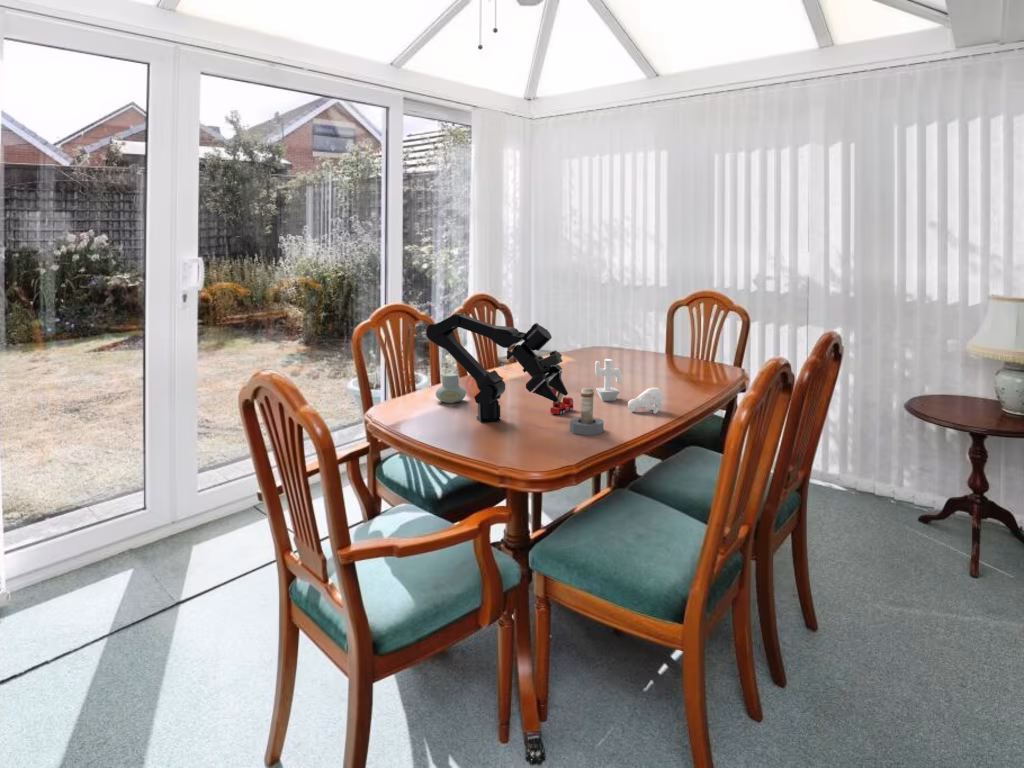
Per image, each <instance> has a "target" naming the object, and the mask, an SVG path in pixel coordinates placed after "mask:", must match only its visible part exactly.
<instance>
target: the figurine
mask: <svg viewBox="0 0 1024 768" xmlns="http://www.w3.org/2000/svg"><path fill="white" fill-rule="evenodd" d="M603 362H604V367H603V368H601V362H600V360H596V361H595V363H594V373H595V376H597V377H603V379H604V381H603V383H604V384H603V387H595V389H596V390H595V391H596V392H597V394H598V397H599V399H600V400H601V401H602V402H615V400H616V398H617V397H618V395H619V394H620V390H618V389H617V388H616V387H614V386H613V387H612V377H614V376H615V382H616V383H618V384H619V383H621V382H622V381H621V379H622V377H621V374H622V372H621V369H620V368H619V367H614V368H613V367H612V366H613V359H611V358H604V361H603Z"/></svg>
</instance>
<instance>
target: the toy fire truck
mask: <svg viewBox="0 0 1024 768" xmlns="http://www.w3.org/2000/svg"><path fill="white" fill-rule="evenodd" d="M550 388H551V389H552V390H553V392H554V393H555V395H556V396H557V398H558V399H559V400H558V401H557V402H554V401H552V406H551V407H550V410H549V411H550V414H554V415H562V414H565V413H566V412H569V411H570V412H572V411H573V409H574V399H573V398H572V397H569V396H564V395H563V394H561V393H560V392H558V391H557V390H555V389H554V388H552V387H550ZM561 400H562V401H561Z"/></svg>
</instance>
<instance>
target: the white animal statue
mask: <svg viewBox="0 0 1024 768" xmlns="http://www.w3.org/2000/svg"><path fill="white" fill-rule="evenodd" d="M662 402H663V393H662V390H660V388H659V387H655V386H654V387H649V388H646V389H645V390H644V391H642V393H640V394H639V395H638V396H637V397H636V398H631V399H630V400H629V401H628V402H627V407H628V409H629V410H630V411H631V413H636V412H637V411H638V410H639V409H648V410H650V411H652V412H653V414H657V413H658V412H659V411H660V410H661V406H662Z"/></svg>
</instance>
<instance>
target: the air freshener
mask: <svg viewBox="0 0 1024 768" xmlns="http://www.w3.org/2000/svg"><path fill="white" fill-rule="evenodd" d="M441 377H442V379H441V381H442V383H441V384H442V385H441V386H439V387H437V389H436V390H435V396H436V399H437V400H439V401H440V402H442V403H444V404H445V403H446V404H456V403H458V402H461V401H463V399H465V397H466V394H467V391H466V389H465V388H464V387H463V386H461V385H460V383H459V382H460V381H459V379H460V378H459V377H460V376H459V374H458V373H454V372H447V373H443V374H442V376H441Z"/></svg>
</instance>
